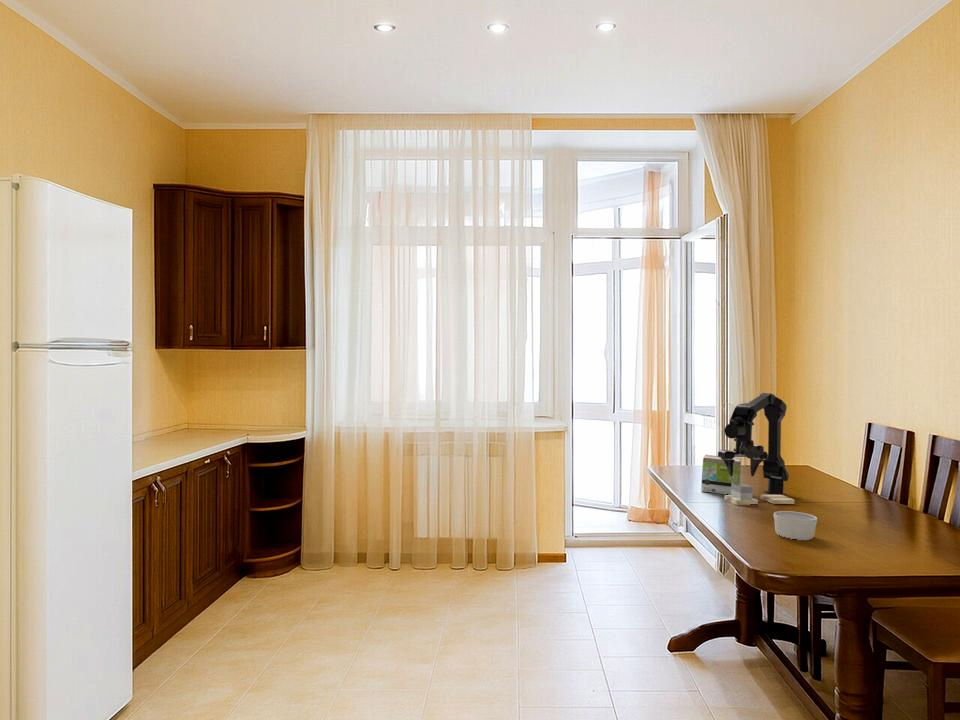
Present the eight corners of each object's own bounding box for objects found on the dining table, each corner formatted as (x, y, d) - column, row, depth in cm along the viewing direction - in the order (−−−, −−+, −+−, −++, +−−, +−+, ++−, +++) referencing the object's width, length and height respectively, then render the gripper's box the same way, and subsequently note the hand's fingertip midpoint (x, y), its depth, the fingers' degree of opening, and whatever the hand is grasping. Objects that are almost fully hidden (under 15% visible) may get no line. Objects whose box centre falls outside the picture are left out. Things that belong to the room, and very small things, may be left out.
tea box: (700, 492, 302) (702, 457, 301) (702, 488, 311) (704, 454, 310) (738, 496, 296) (740, 460, 295) (739, 491, 305) (741, 457, 305)
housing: (730, 495, 287) (731, 483, 287) (742, 495, 288) (742, 483, 288) (740, 499, 280) (741, 486, 280) (752, 499, 281) (752, 486, 281)
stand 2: (760, 499, 291) (760, 494, 291) (780, 499, 293) (780, 494, 293) (773, 504, 282) (774, 499, 282) (794, 504, 284) (794, 499, 284)
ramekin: (766, 530, 243) (767, 509, 243) (806, 531, 243) (807, 511, 243) (781, 541, 230) (782, 519, 230) (823, 543, 230) (824, 521, 229)
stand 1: (724, 499, 288) (724, 495, 288) (744, 499, 290) (745, 494, 290) (736, 505, 279) (736, 500, 279) (757, 505, 281) (757, 499, 281)
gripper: (733, 439, 274) (731, 480, 274) (777, 440, 277) (775, 480, 278) (718, 435, 285) (716, 474, 285) (760, 436, 288) (758, 474, 289)
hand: (741, 476), depth 284 cm, fingers open, 9 cm apart
